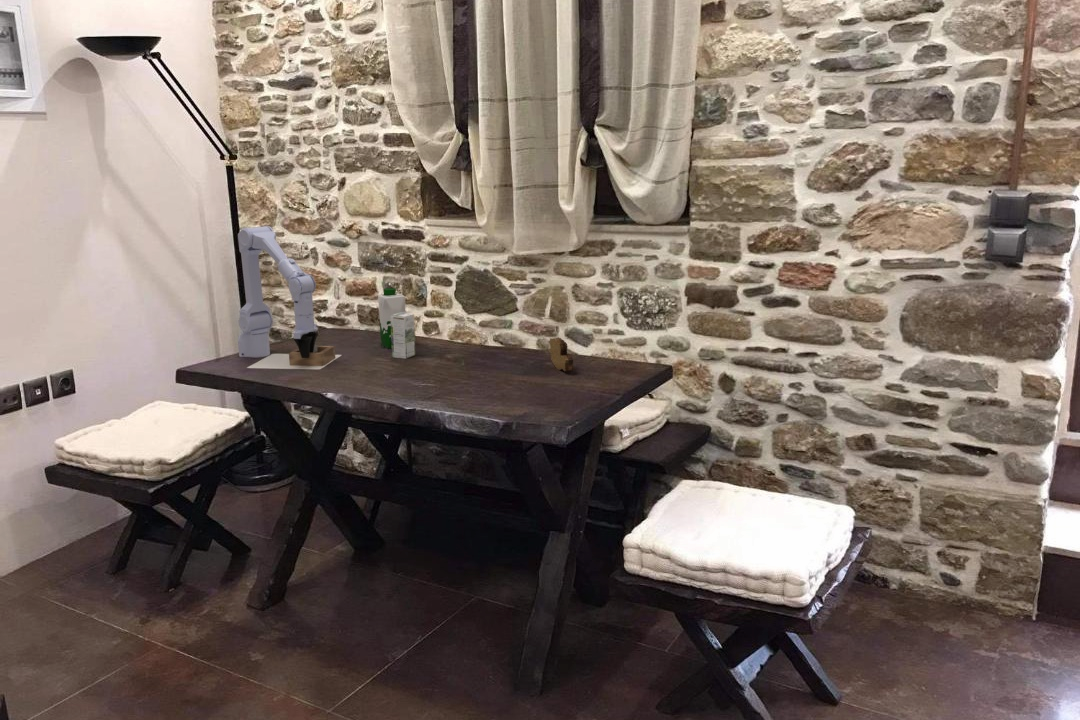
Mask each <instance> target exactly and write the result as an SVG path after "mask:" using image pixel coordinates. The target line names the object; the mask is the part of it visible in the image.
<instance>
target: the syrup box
mask: <svg viewBox="0 0 1080 720" xmlns="http://www.w3.org/2000/svg"><path fill="white" fill-rule="evenodd" d="M415 327H416V326H415V314H414V313H411V312H406V313H404V312H403V313H397V314H394V315H391V343H392V348H391V358H395V359H408V358H411V357H415V356H416V333H415V332H416V330H415Z"/></svg>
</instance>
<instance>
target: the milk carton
mask: <svg viewBox="0 0 1080 720" xmlns="http://www.w3.org/2000/svg"><path fill="white" fill-rule="evenodd" d="M377 300H378V301H377V302H378V317H379V318H378V320H379V331H380V333H379V335H380V342H381V346H382V345H383V347H384V346H385V347H384V348H386V349H387V348H388V349H389V348H390V349H392V343H391V315H394V314H397V313H403V312H404V313H407V312H406V310H407V309H406V295H404V294H401V293H397V292H396V288H392V287H387V288H383V294H378V295H377ZM388 349H387V350H388ZM390 349H389V350H390Z"/></svg>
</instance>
